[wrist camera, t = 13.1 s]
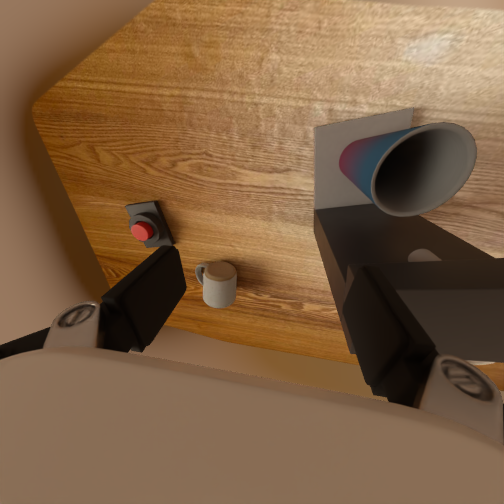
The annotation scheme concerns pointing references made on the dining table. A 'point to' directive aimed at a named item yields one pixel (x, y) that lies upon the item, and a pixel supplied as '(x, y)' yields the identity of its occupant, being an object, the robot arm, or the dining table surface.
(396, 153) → the cup
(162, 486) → the robot arm
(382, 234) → the coffee maker
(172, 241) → the pad
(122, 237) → the dining table surface
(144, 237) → the button
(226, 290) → the ceramic mug
